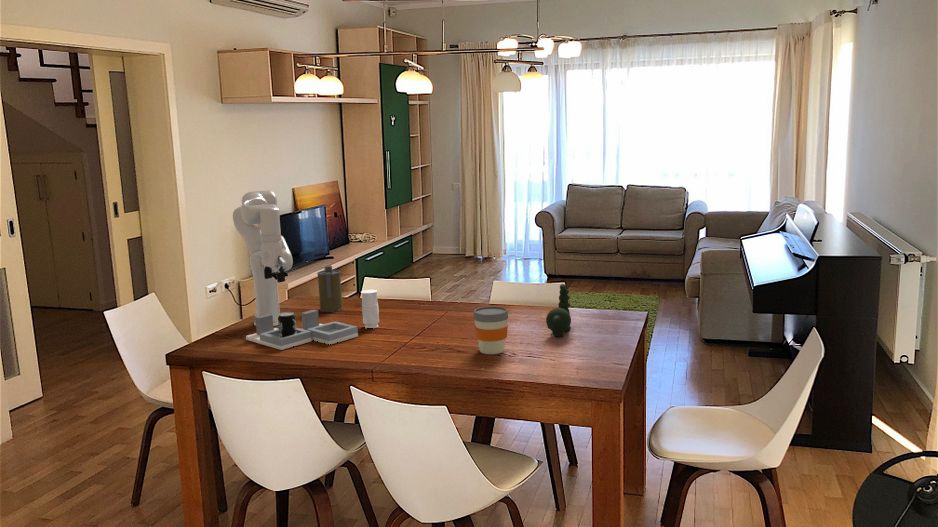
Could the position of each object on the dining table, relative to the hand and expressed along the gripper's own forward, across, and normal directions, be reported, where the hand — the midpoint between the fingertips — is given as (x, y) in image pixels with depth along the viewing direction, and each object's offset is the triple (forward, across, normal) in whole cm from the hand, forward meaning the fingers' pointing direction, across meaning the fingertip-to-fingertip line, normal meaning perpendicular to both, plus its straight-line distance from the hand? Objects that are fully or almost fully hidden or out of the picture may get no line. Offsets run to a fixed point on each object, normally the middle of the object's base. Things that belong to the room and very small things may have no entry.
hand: (274, 280), depth 307 cm
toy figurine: (+21, +88, +72) cm, 116 cm away
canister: (+23, -17, +37) cm, 47 cm away
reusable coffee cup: (+21, +83, +38) cm, 94 cm away
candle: (+22, +22, +30) cm, 43 cm away
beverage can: (+22, +16, -5) cm, 28 cm away
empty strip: (+22, +18, +10) cm, 30 cm away
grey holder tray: (+22, +9, -6) cm, 25 cm away
